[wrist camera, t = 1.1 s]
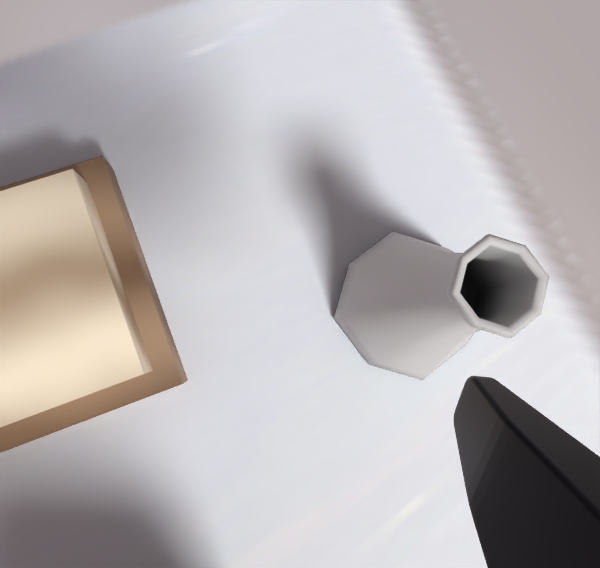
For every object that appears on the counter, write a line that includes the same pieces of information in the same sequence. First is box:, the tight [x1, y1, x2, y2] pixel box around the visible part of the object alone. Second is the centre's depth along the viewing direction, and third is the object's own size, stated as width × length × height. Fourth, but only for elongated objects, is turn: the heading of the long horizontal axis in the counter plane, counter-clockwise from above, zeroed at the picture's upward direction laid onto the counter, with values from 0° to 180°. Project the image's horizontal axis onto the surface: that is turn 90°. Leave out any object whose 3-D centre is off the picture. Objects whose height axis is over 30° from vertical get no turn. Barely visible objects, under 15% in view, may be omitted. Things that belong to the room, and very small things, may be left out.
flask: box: [334, 231, 549, 380], centre depth 21 cm, size 7×7×10 cm
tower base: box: [0, 156, 187, 453], centre depth 22 cm, size 11×11×4 cm
